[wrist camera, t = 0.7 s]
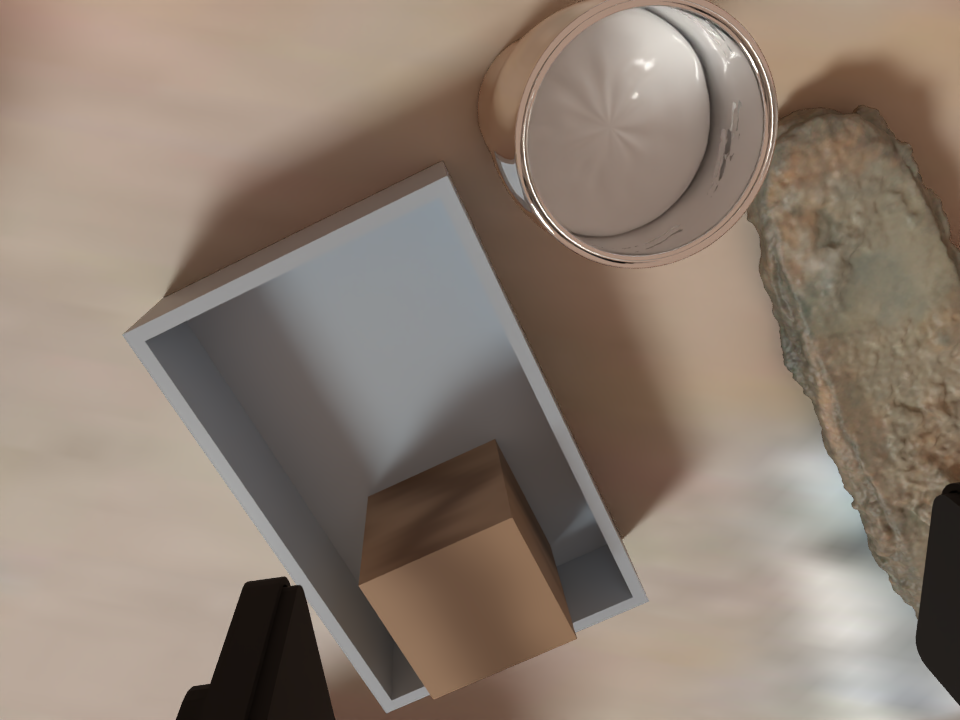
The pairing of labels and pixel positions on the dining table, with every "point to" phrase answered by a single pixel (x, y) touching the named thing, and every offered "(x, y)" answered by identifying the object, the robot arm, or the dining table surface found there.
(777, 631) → the dining table surface
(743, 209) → the beer glass
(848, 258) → the elongated rock
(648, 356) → the dining table surface
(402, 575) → the walnut block
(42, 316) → the dining table surface
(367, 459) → the tote
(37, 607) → the dining table surface
